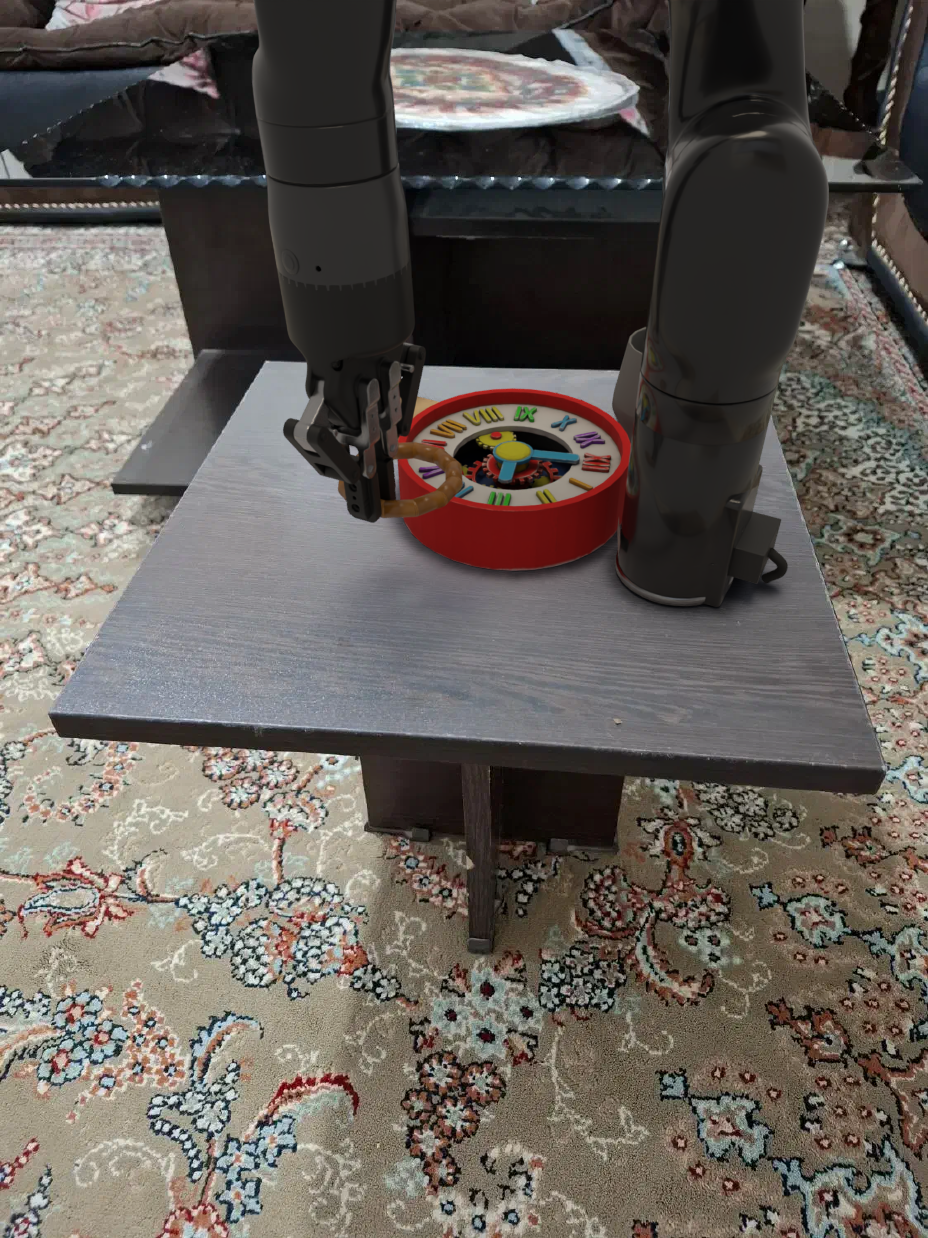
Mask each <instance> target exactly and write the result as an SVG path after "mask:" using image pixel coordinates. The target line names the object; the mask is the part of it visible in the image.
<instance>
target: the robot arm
mask: <svg viewBox="0 0 928 1238" xmlns="http://www.w3.org/2000/svg"><path fill="white" fill-rule="evenodd" d="M397 2H398V0H253V6H254V7H253V8H254V14H255V20H256V27H257V35H258V48H257V50H256V52H255V54H254V55H253V59H252V65H251V66H252V67H251V83H252V84H251V86H252V95H253V103H254V109H255V110H254V111H255V115H256V123H257V129H258V135H259V141H260V146H261V151H262V152H261V153H262V159H263V163H264V164H263V165H264V170H265V178H266V187H267V212H268V222H269V230H270V236H271V243H272V248H273V253H274V260H275V264H276V271H277V276H278V283H279V289H280V294H281V300H282V307H283V312H284V319H285V323H286V330H287V334H288V337H289V340H290V341H291V343H292V344H293V345H294V346H295V347H296V348H297V350H298V351H299V352H300V353H301V354H302V356H303V358H304V359H305V362H306V375H305V376H306V377H305V383H304V388H305V392H306V396H307V398H308V402H307V404H306V406H305V408H304V409H303V412H302V415H301V416H300V419H296V418H292V417H289V418H287V419H286V420H285V422H284V425H283V427H282V434H283V436H284V438H285V439H286V440H287V441H288V442H289V444H291V445H292V447H293V448H294V449H295V450H296V451H297V452H298V453H299V454H300V455H301V456H302V457H303V459H305V461H306V462H307V463H308V464H309V465H310V466H311V467H312V468H313V469H314V470H315V471H316V473H317V474H318V475H320V476H322V477H326V478H329V479H333V480H336V481H339V480H340V481H343V482H344V489H345V496H346V500H345V502H346V509H347V510H346V511H348V514H349V515H350V516H352V517H353V518H355V519H357V520H361V521H364V522H368V523H371V524H375V523H376V522H377V521H379V519H381V516H382V508H381V499H382V500H397V494H396V493H397V491H396V488H397V487H396V486H397V484H396V476H395V474H396V473H395V464H394V460H393V457H395V456H396V454H397V452H398V446H399V445H398V438H399V436H403V437H406V436H408V434H409V432H410V429H411V425H412V420H413V415H414V410H415V406H416V401H417V396H418V397H419V391H420V385H421V381H422V376H423V372H424V366H425V362H426V356H427V350H426V348H425V347H424V346H421V345H417V344H414V343H410V342H406V341H407V340H409V339H410V337H411V336H412V335H413V332H414V330H415V326H416V316H415V303H414V302H415V301H414V289H413V272H412V258H411V245H410V234H409V233H410V231H409V218H408V217H409V216H408V209H407V201H406V197H405V191H404V187H403V182H402V177H401V169H400V163H399V148H398V133H397V122H396V121H397V120H396V107H395V95H394V87H393V79H392V74H391V63H392V62H391V61H392V49H393V44H394V36H395V29H396V16H397ZM804 4H805V3H804V0H667V7H668V21H669V92H668V93H669V94H668V119H667V135H666V138H667V139H666V150H665V151H666V152H665V159H664V166H663V172H662V183H661V185H662V186H661V208H660V215H659V223H658V231H657V232H658V233H657V241H656V250H655V257H654V259H655V260H654V266H653V275H652V281H651V290H650V298H649V305H648V307H649V308H648V315H647V321H646V326H645V327H646V331H645V336H644V342H643V352H642V361H641V369H640V376H639V384H638V392H637V401H636V408H635V416H634V424H633V433H632V441H631V449H630V457H629V465H628V473H627V481H626V489H625V498H624V506H623V514H622V522H621V525H620V526H619V519H618V528H617V531H616V533H617V550H616V555H615V561H614V562H615V564H614V567H615V570H616V574H617V577H618V578H619V579H620V581H621V582H622V584H624V586H625V587H626V588H628V589H629V590H630V591H632V592H633V593H634V594H636V595H637V596H639V597H641V598H644V599H646V600H649V601H651V602H654V603H657V604H662V605H666V606H674V607H693V606H699V605H708V606H711V607H714V608H718V607H720V606H721V605H722V602H723V601H724V598H725V596H726V594H727V592H728V591H729V589H730V588H731V586H732V585H733V582H734V578H735V579H738V580H742V581H745V582H749V583H751V584H756V585H758V583H759V582H760V579H761V582H763V583H764V584H769V583H771V582H774V581H776V580H778V579H781V578H783V577H784V576H785V575H786V573H787V572H788V568H789V565H788V562H787V560H786V559H785V558H784V557H783V556H782V554H780V553H779V552H778V551H777V550H776V549H775V546H776V541H777V539H778V538H777V537H778V534H779V530H780V526H781V523H782V518H779V517H776V516H771V515H768V514H764V513H759V512H757V511H754V507H755V504H756V499H757V496H758V491H759V487H760V483H761V478H762V474H763V469H764V467H763V465H762V464H760V463H761V457H762V454H763V448H764V444H765V441H766V436H767V432H768V428H769V423H770V420H771V415H772V411H773V408H774V407H773V406H774V403H775V399H776V394H777V390H778V386H779V382H780V377H781V373H782V370H783V366H784V363H785V360H786V359H787V358H788V357H789V354H790V353H791V351H792V349H793V348H794V344H795V342H796V339H797V336H798V332H799V329H800V325H801V321H802V318H803V314H804V309H805V306H806V303H807V299H808V295H809V292H810V288H811V283H812V280H813V276H814V272H815V268H816V265H817V261H818V258H819V253H820V249H821V245H822V242H823V238H824V237H823V236H824V232H825V229H826V222H827V217H828V216H827V215H828V208H829V202H830V201H829V198H830V197H829V195H830V194H829V193H830V190H829V188H830V187H829V179H828V175H827V171H826V167H825V164H824V162H823V160H822V158H821V155H820V152H819V150H818V148H817V146H816V143H815V140H814V138H813V134H812V129H811V123H810V115H809V105H808V104H809V103H808V97H807V96H808V95H807V82H806V81H807V80H806V62H805V61H806V59H805V58H806V57H805V54H806V53H805V31H804V29H805V28H804V27H805V26H804ZM400 398H401V400H402V401H401V402H400ZM351 447H354V448H355V449H356V450H357V454H358V455H359V456H356V454H355V455H354V454H351V449H350V448H351ZM769 560H770V561H771V562H772V563H773V564H775V566H776V568H774V569H773V570H770V571H767V572H765V573H763V572H764V570H765V568H766V566H767V564H768V562H769Z"/></svg>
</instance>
